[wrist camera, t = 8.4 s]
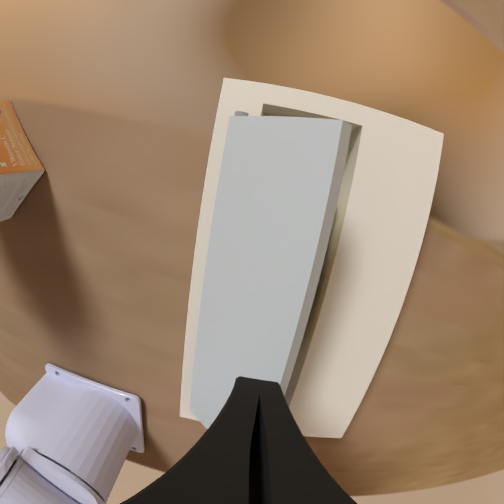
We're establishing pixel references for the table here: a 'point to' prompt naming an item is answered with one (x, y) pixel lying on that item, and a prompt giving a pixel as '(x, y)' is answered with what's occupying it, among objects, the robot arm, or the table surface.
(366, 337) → the white sliding drawer case
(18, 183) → the small box
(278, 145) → the cover
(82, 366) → the table surface
